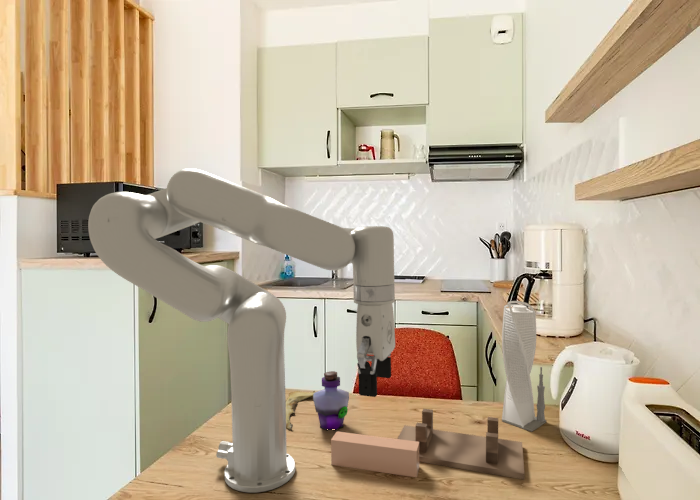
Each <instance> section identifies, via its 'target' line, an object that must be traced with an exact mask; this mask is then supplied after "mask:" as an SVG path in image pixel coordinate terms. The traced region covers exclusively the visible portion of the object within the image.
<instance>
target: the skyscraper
mask: <svg viewBox="0 0 700 500" xmlns="http://www.w3.org/2000/svg"><path fill="white" fill-rule="evenodd" d="M536 316H537V315H536V310H535V309H534V308H533V306H532V305H531V304H529V303H528V302H525V301H519V300H511V301H508V302H507V304H506V305H504V306H503V315H502V328H501V347H502V348H501V349H502V359H503V365H504V371H505V375H506V381H505V387H504V389H505V390H504V396H503V404H502V405H503V406H502V413H501V422H503V423H506V424H508V425H510V426H515V427H517V428H520V429H522V430H524V431H528V432H533V431H536V430H537V429H538V428H540V427H542V426H543V425H544V424H546V423H547V419H546V415H545V410H546V404H545V387H546V386H545V385H544V381H543V380H544V379H543V378H544V374H543V366H540V372H539V374H538V375H539V376H538V377H539V382H538V385H537V400H536V401H537V403H536V411H537V412H536V413H535V402H534V394H533V386H532V381H531V373H532V369H533V365H534V360H535V355H536V348H537V317H536ZM535 415H536V416H535Z"/></svg>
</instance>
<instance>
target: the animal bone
mask: <svg viewBox="0 0 700 500" xmlns="http://www.w3.org/2000/svg"><path fill="white" fill-rule="evenodd" d="M315 392H316V391H315V390H314V391H312V392H311V391H310V392H308V391H307V392H306V391H300V390H295V391H291V392H289V393H288V397H287V398H286V430H289V431H292V429H293V427H294V425H293V424H292V423H291V420H290V419H291V415H292V414H295V413H296V412H295V411H296V408H297V407H298V402H301V401H303V400H306V399H308V398H310V397H313V395H314V393H315Z"/></svg>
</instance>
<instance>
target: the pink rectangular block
mask: <svg viewBox="0 0 700 500" xmlns="http://www.w3.org/2000/svg"><path fill="white" fill-rule="evenodd" d="M330 452H331V453H330V454H331V455H330V456H331V457H330V459H331V460H330V462H331V466H336V467H338V466H339V467H345V468H351V469H357V470H363V471H372V472H378V473H379V472H380V473H384V474H385V473H386V474H393V475H398V476H404V477H410V478H417V477H418V474H419V471H420V462H419V442H417V441H409V440H401V439H398V438H393V437H386V436H385V437H383V436H376V435H368V434H362V433H361V434H360V433H359V434H358V433H352V432H344V431H339V430H336V431H335V433H334V435H333V436H332V437H331V438H330Z"/></svg>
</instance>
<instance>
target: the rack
mask: <svg viewBox="0 0 700 500" xmlns="http://www.w3.org/2000/svg"><path fill="white" fill-rule="evenodd" d="M486 431H487V432H485V433H486V434H485V436H483V435H476V434H469V433H468V434H467V433H462V432H461V433H460V432H453V431H448V430H439V429H434V410H433V409H428V408H422V411H421V422H416V424H415V426H414V425H413V426H412V425H406V424H405V425H403V428H402V429H401V431H400V433H399V435H398V437H397V439H401V440H409V441H417V442H419V463H425V464H431V465H437V466H442V467H443V466H444V467H448V468H456V469H462V470H467V471H471V472H478V473H482V474H483V473H484V474H490V475H497V476H502V477H507V478H513V479H519V480H525V463H524V451H523V441H516V440H511V439H502V438H499V417H492V416H487V430H486Z"/></svg>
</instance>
